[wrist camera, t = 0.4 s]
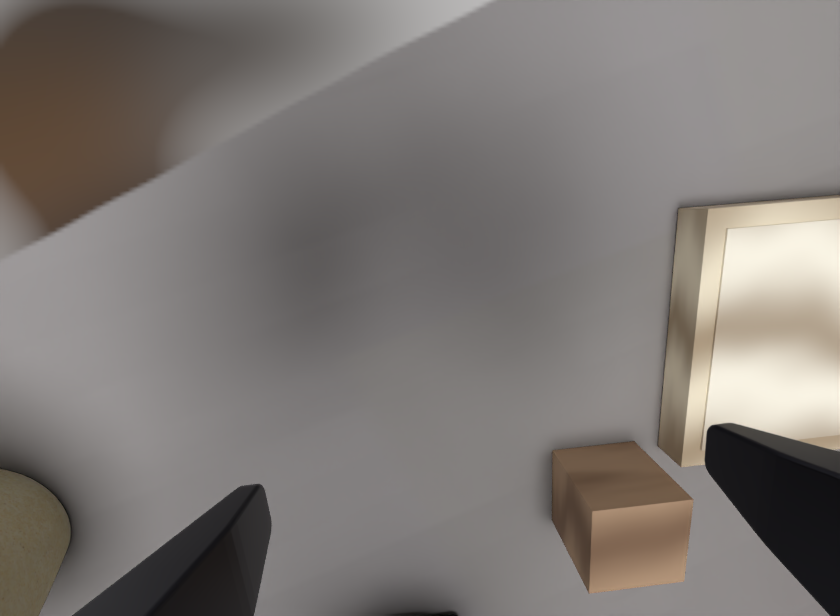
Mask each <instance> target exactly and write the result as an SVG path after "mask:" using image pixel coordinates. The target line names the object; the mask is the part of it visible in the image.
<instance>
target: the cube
mask: <svg viewBox="0 0 840 616" xmlns="http://www.w3.org/2000/svg"><path fill="white" fill-rule="evenodd" d="M692 508H693V499H692V498H691V497H690V496H689V495H688V494H687V493H686V492H685V491H684V490H683V489H682V488H681V487H680V486H679V485H678V484H677V483H676V482H675V481H674V480H673V479H672V478H671V477H670V476H669V475H668V474H667V473H666V472H665V471H664V470H663V469H662V468H661V467H660V466H659V465H658V464H657V463H656V462H655V461H654V460H653V459H652V458H651V457H650V456H649V455H648V454H646V453H645V452H644V451H643V450H642V449H641V448H640V447H639V446H638V445H637V444H636V443H635V442H634V441H632V442H623V443H614V444H605V445H596V446H587V447H578V448H569V449H560V450H553V452H552V521H553V523H554V525H555V527H556V529H557V531H558V533H559V535H560V537H561V539H562V541H563V543H564V545H565V547H566V549H567V551H568V553H569V555H570V557H571V559H572V561H573V563H574V565H575V567H576V569H577V571H578V573H579V575H580V577H581V579H582V580H583V582H584V584H585V586H586V588H587V590H588V592H589V593H597V592H605V591H613V590H621V589H629V588H636V587H644V586H652V585H660V584H668V583H676V582H684V577H685V568H686V560H687V551H688V542H689V534H690V525H691V516H692Z"/></svg>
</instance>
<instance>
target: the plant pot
mask: <svg viewBox="0 0 840 616" xmlns="http://www.w3.org/2000/svg"><path fill="white" fill-rule="evenodd" d="M70 537H71V527H70V523H69V518H68V515H67V513H66V511H65V509H64V508H63V506H62V505H61V503H60V502H59V501H58V499H57V498H56V497H55V496H54V495H53V494H52V493H51V492H50V491H49V490H48V489H47V488H45V487H44V486H42V485H41V484H39V483H38V482H36V481H35V480H33V479H31V478H28V477H26V476H24V475H22V474H19V473H15V472H12V471H8V470H3V469H0V616H38V615H39V613H40V611H41V609H42V607H43V605H44V603H45V601H46V598H47V596H48V594H49V592H50V589H51V587H52V585H53V582H54V580H55V578H56V575H57V573H58V571H59V568H60V566H61V563H62V561H63V559H64V556H65V554H66V551H67V549H68V546H69V543H70Z"/></svg>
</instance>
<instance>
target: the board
mask: <svg viewBox="0 0 840 616" xmlns="http://www.w3.org/2000/svg"><path fill="white" fill-rule="evenodd" d="M722 423H735V424H739V425H743V426H746V427H750V428H754V429H757V430H761V431H765V432H768V433H772V434H776V435H779V436H783V437H787V438H791V439H794V440H798V441H802V442H805V443H809V444H813V445H816V446H820V447H824V448H827V449H831V450H834V449H840V195H831V196H819V197H808V198H796V199H784V200H772V201H760V202H748V203H736V204H724V205H712V206H700V207H688V208H679V209H678V221H677V232H676V244H675V255H674V267H673V278H672V290H671V301H670V313H669V325H668V336H667V348H666V359H665V371H664V382H663V394H662V405H661V417H660V429H659V440H658V447H659V448H660V449H662V450H663V451H664V452H665V453H666V454H667V455H668V456H669V457H670V458H671V459H673V460H674V461H675V462H676V463H677V464H678V465H679V466H680V467H688V466H696V465H705V461H704V458H705V446H706V434H707V430H708V428H709V427H710V426H711V425H714V424H722Z"/></svg>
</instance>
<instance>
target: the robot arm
mask: <svg viewBox="0 0 840 616" xmlns="http://www.w3.org/2000/svg"><path fill="white" fill-rule="evenodd" d="M704 461H705V466H706V469H707V471H708V473H709V474H710V475H711V477H712V478H713V479H714V480H715V482H716V483H717V484H718V486H719V487H720V488H721V489H722V491H723V492H724V493H725V494H726V496H727V497H728V498H729V500H730V501H731V502H732V503H733V505H734V506H735V507H736V508H737V510H738V511H739V512H740V514H741V515H742V516H743V517H744V519H745V520H746V521H747V522H748V524H749V525H750V526H751V528H752V529H753V530H754V531H755V533H756V534H757V535H758V536H759V538H760V539H761V540H762V541H763V542H764V544H765V545H766V546H767V547H768V548H769V549H770V550H771V552H772V553H773V554H774V555H775V556H776V557H777V558H778V559H779V561H780V562H781V563H782V564H783V565H784V566H785V567H786V568H787V569H788V570H789V571H790V572H791V574H792V575H793V576H794V577H795V578H796V579H797V580H798V581H799V582H800V583H801V584H802V586H803V587H804V588H805V589H806V590H807V591H808V592H809V593H810V594H811V595H812V596H813V597H814V599H815V600H816V601H817V602H818V603H819V604H820V605H821V606H822V607H823V608H824V609H825V611H826V612H827V613H828V614H829V615H830V616H840V452H838V451H835V450H831V449H827V448H824V447H820V446H816V445H813V444H809V443H805V442H802V441H798V440H794V439H791V438H787V437H783V436H779V435H776V434H772V433H768V432H765V431H761V430H757V429H754V428H750V427H746V426H743V425H739V424H735V423H722V424H714V425H711V426H710V427H709V428H708V430H707V434H706V446H705V458H704ZM270 535H271V516H270V512H269V507H268V503H267V498H266V493H265V490H264V487H263V486H262V485H261V484H253V485H245V486H240V487H238V488H237V489H236V490H234V491H233V492H232V493H230V494H229V495H228V496H226V497H225V498H224V499H223V500H221V501H220V502H219V503H217V504H216V505H215V506H214V507H212V508H211V509H210V510H208V511H207V512H206V513H204V514H203V515H202V516H201V517H199V518H198V519H197V520H195V521H194V522H193V523H192V524H190V525H189V526H188V527H186V528H185V529H184V530H182V531H181V532H180V533H179V534H177V535H176V536H175V537H173V538H172V539H171V540H169V541H168V542H167V543H166V544H164V545H163V546H162V547H160V548H159V549H158V550H157V551H155V552H154V553H153V554H151V555H150V556H149V557H147V558H146V559H145V560H144V561H142V562H141V563H140V564H138V565H137V566H136V567H134V568H133V569H132V570H131V571H129V572H128V573H127V574H125V575H124V576H123V577H122V578H120V579H119V580H118V581H116V582H115V583H114V584H112V585H111V586H110V587H109V588H107V589H106V590H105V591H103V592H102V593H101V594H100V595H98V596H97V597H96V598H94V599H93V600H92V601H90V602H89V603H88V604H87V605H85V606H84V607H83V608H81V609H80V610H79V611H77V612H76V613H75V614H74V615H72V616H254V612H255V607H256V603H257V598H258V593H259V588H260V583H261V579H262V574H263V569H264V564H265V559H266V554H267V549H268V545H269V540H270ZM442 616H457V615H455V614H450V615H442Z"/></svg>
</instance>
